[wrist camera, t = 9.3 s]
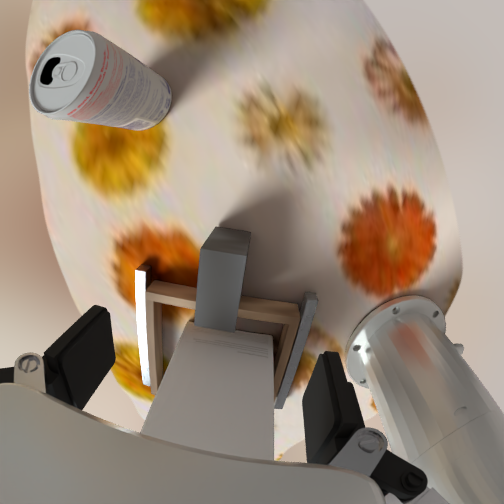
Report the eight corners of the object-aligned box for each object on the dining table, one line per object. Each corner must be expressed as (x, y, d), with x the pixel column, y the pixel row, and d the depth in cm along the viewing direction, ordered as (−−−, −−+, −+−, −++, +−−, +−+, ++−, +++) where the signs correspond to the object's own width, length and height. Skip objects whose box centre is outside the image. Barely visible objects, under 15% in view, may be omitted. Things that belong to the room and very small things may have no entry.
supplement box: (185, 318, 27) (132, 440, 13) (274, 333, 27) (278, 467, 13) (183, 380, 30) (148, 487, 16) (258, 393, 30) (253, 506, 16)
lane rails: (315, 293, 26) (318, 300, 24) (281, 400, 30) (282, 409, 29) (141, 264, 25) (135, 270, 24) (147, 376, 30) (143, 384, 29)
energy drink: (131, 70, 20) (50, 28, 8) (182, 81, 20) (116, 26, 9) (111, 123, 21) (17, 112, 10) (159, 137, 22) (75, 126, 10)
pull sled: (312, 242, 24) (326, 268, 18) (269, 399, 30) (269, 439, 24) (157, 217, 24) (127, 236, 18) (157, 379, 30) (142, 415, 24)
